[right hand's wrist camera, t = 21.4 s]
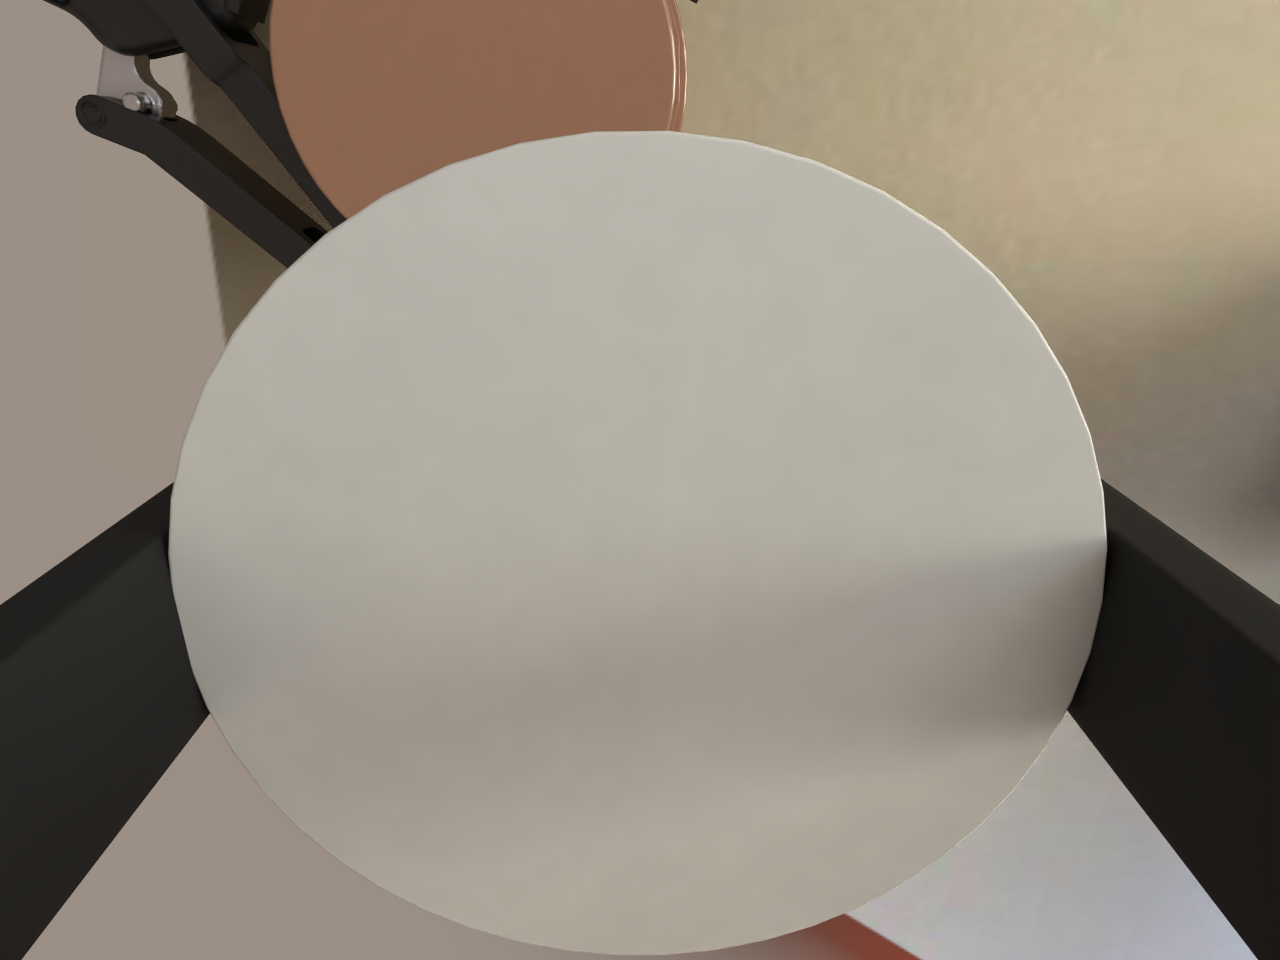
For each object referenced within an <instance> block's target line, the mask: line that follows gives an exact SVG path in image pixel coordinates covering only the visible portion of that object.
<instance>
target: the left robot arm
mask: <svg viewBox="0 0 1280 960" xmlns="http://www.w3.org/2000/svg"><path fill="white" fill-rule="evenodd" d="M44 1H46V2H48V3H50V4H52V5H55V6H57V7H59V8H61V9H63V10H65V11H67V12H69V13H70V14H72V15H73V16H75V17H76V18H77V19H79V20H80V21H81V22H82V23H83V24H84V25H85V26H86V27H87V28H88V29H89V30H90V31H91V32H92V34H93V35H94V36H95V37H96V38H97V40H98V41H100V42H101V43H102V44H103V53H102V60H101V67H100V75H99V82H98V89H97V95H86V96H83V97H82V98H80V99H79V100H78V102H77V105H76V116H77V118H78V121H79V123H80V124H81V125H82V127H83V128H84V129H85V130H87V131H88V132H90V133H92V134H94V135H96V136H99V137H101V138H104V139H107V140H109V141H112V142H114V143H117V144H119V145H122V146H124V147H127V148H129V149H132V150H134V151H137V152H140V153H142V154H145V155H146V156H147V157H149V158H150V159H151V160H152V161H154V162H155V163H156V164H157V165H159V166H160V167H161V168H162V169H164V170H165V171H166V172H167V173H169V174H170V175H171V176H173V177H174V178H175V179H176V180H178V181H179V182H180V183H181V184H183V185H184V186H185V187H186V188H188V189H189V190H190V191H191V192H193V193H194V194H195V195H196V196H198V197H199V198H200V199H201V200H203V201H204V202H205V203H206V204H208V205H209V206H210V207H211V208H213V209H214V210H215V211H216V212H218V213H219V214H220V215H222V216H223V217H224V218H225V219H227V220H228V221H229V222H230V223H232V224H233V225H234V226H235V227H237V228H238V229H239V230H240V231H242V232H243V233H244V234H245V235H247V236H248V237H249V238H250V239H252V240H253V241H254V242H255V243H257V244H258V245H259V246H261V247H262V248H263V249H264V250H266V251H267V252H268V253H269V254H271V255H272V256H273V257H274V258H276V259H277V260H278V261H279V262H281V263H282V264H283V265H284V266H286V267H287V268H289V267H290V266H291V265H292V264H293V263H294V262H295V261H296V260H297V259H299V258H300V257H301V256H302V255H303V254H304V253H305V252H306V251H307V250H308V249H310V248H311V247H312V246H313V245H314V244H315V243H316V242H317V241H318V240H319V239H320V238H322V237H323V236H324V235H325V234H326V233H328V232H327V231H326V230H325V229H324V228H323V227H321V226H320V225H319V224H318V223H316V222H315V221H314V220H313V219H312V218H310V217H309V216H308V215H307V214H305V213H304V212H303V211H302V210H301V209H299V208H298V207H297V206H296V205H295V204H293V203H292V202H291V201H290V200H288V199H287V198H286V197H285V196H284V195H282V194H281V193H280V192H279V191H277V190H276V189H275V188H274V187H273V186H271V185H270V184H269V183H268V182H266V181H265V180H264V179H263V178H262V177H260V176H259V175H258V174H257V173H256V172H254V171H253V170H252V169H251V168H249V167H248V166H247V165H246V164H245V163H243V162H242V161H241V160H240V159H238V158H237V157H236V156H235V155H234V154H232V153H231V152H230V151H229V150H228V149H226V148H225V147H224V146H223V145H221V144H220V143H219V142H218V141H217V140H215V139H214V138H213V137H212V136H210V135H209V134H208V133H206V132H205V131H204V130H202V129H201V128H199V127H198V126H196V125H194V124H193V123H191V122H189V121H188V120H186V119H184V118H182V117H179V116H177V115H176V112H177V103H176V101H175V100H174V99H173V97H172V95H171V94H170V93H169V92H168V91H167V90H166V89H164V88H163V87H161V86H160V85H159V84H158V83H157V82H156V81H155V80H154V78H153V76H152V74H151V71H150V59H158V58H162V57H166V56H170V55H175V54H179V53H184V52H187V54H188V55H189V56H190V57H191V59H192V60H193V61H194V62H195V64H196V65H197V66H198V67H199V69H200V70H201V71H202V72H203V73H204V74H205V76H207V77H208V78H209V79H210V80H211V81H212V82H214V83H215V84H216V85H218V86H219V87H220V88H221V89H222V90H223V91H224V92H225V93H226V94H227V95H228V97H229V98H230V99H231V101H232V102H233V103H234V104H235V106H236V107H237V108H238V109H239V111H240V112H241V113H242V114H243V116H244V117H245V118H246V119H247V121H248V122H249V123H250V124H251V126H252V127H253V128H254V129H255V131H256V132H257V133H258V134H259V136H260V137H261V138H262V139H263V141H264V142H265V143H266V144H267V146H268V147H269V148H270V149H271V151H272V152H273V153H274V154H275V156H276V157H277V158H278V159H279V161H280V162H281V163H282V164H283V166H284V167H285V168H286V169H287V171H288V172H289V173H290V174H291V176H292V177H293V178H294V179H295V181H296V182H297V183H298V184H299V186H300V187H301V188H302V190H303V191H304V192H305V193H306V195H307V196H308V197H309V198H310V200H311V201H312V202H313V203H314V205H315V206H316V207H317V208H318V210H319V211H320V212H321V213H322V215H323V216H324V217H325V218H326V220H327V221H328V222H329V223H330V225H331V226H332V227H333V228H335V227H337V226H338V225H340V224H341V223H343V222H344V221H346V220H347V219H346V218H345V217H344V216H343V215H342V214H341V213H340V212H339V211H338V210H337V209H336V208H335V207H334V206H333V205H332V203H331V202H330V201H329V200H328V198H327V197H326V196H325V195H324V193H323V192H322V191H321V190H320V188H319V187H318V186H317V184H316V183H315V181H314V180H313V178H312V176H311V175H310V173H309V172H308V170H307V169H306V167H305V165H304V164H303V162H302V160H301V158H300V156H299V154H298V152H297V150H296V148H295V146H294V144H293V142H292V140H291V138H290V135H289V133H288V130H287V127H286V124H285V122H284V119H283V116H282V113H281V110H280V107H279V103H278V98H277V94H276V90H275V86H274V82H273V74H272V66H271V58H270V52H269V51H268V50H267V48H266V47H265V46H264V44H263V43H262V42H261V40H260V39H259V38H258V37H257V35H256V34H255V33H254V31H253V28H254V27H255V26H256V24H257V23H258V22H260V23H263V24H264V23H265V19H266V15H267V11H268V7H269V3H270V0H44ZM691 1H692V2H694V3H696V4H697V1H698V0H691Z"/></svg>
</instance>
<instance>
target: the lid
mask: <svg viewBox="0 0 1280 960" xmlns="http://www.w3.org/2000/svg"><path fill="white" fill-rule="evenodd" d="M1106 555H1107V537H1106V522H1105V507H1104V493H1103V487H1102V483H1101V478H1100V474H1099V470H1098V465H1097V461H1096V456H1095V452H1094V448H1093V443H1092V439H1091V434H1090V432H1089V429H1088V427H1087V424H1086V422H1085V419H1084V417H1083V414H1082V412H1081V409H1080V407H1079V404H1078V402H1077V399H1076V397H1075V394H1074V392H1073V389H1072V387H1071V384H1070V382H1069V379H1068V377H1067V375H1066V374H1065V372H1064V370H1063V369H1062V367H1061V365H1060V364H1059V362H1058V360H1057V359H1056V357H1055V355H1054V354H1053V352H1052V350H1051V349H1050V347H1049V345H1048V344H1047V342H1046V340H1045V339H1044V337H1043V335H1042V334H1041V332H1040V330H1039V329H1038V327H1037V325H1036V324H1035V323H1034V321H1033V320H1032V319H1031V318H1030V317H1029V315H1028V314H1027V313H1026V312H1025V311H1024V309H1023V308H1022V307H1021V306H1020V305H1019V303H1018V302H1017V301H1016V300H1015V299H1014V297H1013V296H1012V295H1011V294H1010V293H1009V291H1008V290H1007V289H1006V288H1005V287H1004V285H1003V284H1002V283H1001V282H1000V281H999V279H998V278H997V277H996V276H995V275H994V274H993V273H992V272H991V271H990V270H989V269H988V268H987V267H985V266H984V265H983V264H982V263H981V262H980V261H979V260H977V259H976V258H975V257H974V256H973V255H972V254H971V253H970V252H968V251H967V250H966V249H965V248H964V247H963V246H962V245H960V244H959V243H958V242H957V241H956V240H955V239H954V238H952V237H951V236H950V235H949V234H948V233H947V232H946V231H945V230H943V229H942V228H940V227H939V226H937V225H936V224H934V223H933V222H931V221H929V220H928V219H926V218H925V217H923V216H922V215H920V214H919V213H917V212H915V211H914V210H912V209H911V208H909V207H908V206H906V205H905V204H903V203H901V202H900V201H898V200H897V199H895V198H894V197H892V196H890V195H889V194H887V193H886V192H884V191H882V190H880V189H878V188H876V187H873V186H871V185H869V184H867V183H864V182H862V181H860V180H858V179H856V178H853V177H851V176H849V175H847V174H844V173H842V172H840V171H838V170H836V169H833V168H831V167H829V166H827V165H824V164H822V163H820V162H818V161H814V160H811V159H807V158H804V157H800V156H797V155H793V154H790V153H786V152H783V151H779V150H776V149H772V148H769V147H765V146H762V145H758V144H755V143H751V142H748V141H743V140H735V139H728V138H720V137H713V136H705V135H698V134H691V133H683V132H676V131H595V132H588V133H581V134H575V135H568V136H562V137H555V138H549V139H542V140H535V141H529V142H522V143H518V144H515V145H511V146H508V147H505V148H501V149H498V150H495V151H492V152H488V153H485V154H482V155H478V156H475V157H472V158H469V159H465V160H462V161H459V162H455V163H452V164H449V165H447V166H445V167H442V168H440V169H438V170H436V171H434V172H432V173H430V174H428V175H425V176H423V177H421V178H419V179H417V180H415V181H413V182H411V183H409V184H406V185H404V186H402V187H400V188H398V189H396V190H394V191H392V192H389V193H387V194H385V195H383V196H382V197H380V198H379V199H377V200H376V201H374V202H373V203H371V204H370V205H368V206H367V207H365V208H364V209H362V210H361V211H359V212H358V213H356V214H355V215H353V216H352V217H350V218H349V219H347V220H346V221H344V222H343V223H341V224H340V225H338V226H337V227H335V228H334V229H332V230H331V231H329V232H328V233H326V234H325V235H324V236H323V237H322V238H320V239H319V240H318V241H317V242H316V243H315V244H314V245H313V246H312V247H311V248H310V249H308V250H307V251H306V252H305V253H304V254H303V255H302V256H301V257H300V258H299V259H297V260H296V261H295V262H294V263H293V264H292V265H291V266H290V267H289V268H288V269H287V270H285V271H284V272H283V273H282V274H281V275H280V276H279V277H278V278H277V279H276V280H275V281H274V282H273V283H272V284H271V286H270V287H269V288H268V289H267V291H266V292H265V293H264V294H263V296H262V297H261V298H260V299H259V301H258V302H257V303H256V304H255V306H254V307H253V308H252V309H251V311H250V312H249V313H248V314H247V316H246V317H245V318H244V319H243V321H242V322H241V323H240V324H239V326H238V327H237V328H236V329H235V331H234V332H233V334H232V336H231V338H230V339H229V341H228V343H227V345H226V346H225V348H224V350H223V352H222V353H221V355H220V357H219V359H218V360H217V362H216V364H215V366H214V367H213V369H212V371H211V373H210V374H209V376H208V378H207V380H206V382H205V383H204V385H203V388H202V391H201V393H200V396H199V398H198V401H197V404H196V407H195V409H194V412H193V414H192V417H191V420H190V422H189V425H188V428H187V430H186V433H185V436H184V438H183V441H182V446H181V451H180V456H179V461H178V466H177V470H176V475H175V480H174V485H173V490H172V495H171V504H170V525H169V547H168V557H169V567H170V576H171V583H172V588H173V593H174V598H175V602H176V606H177V610H178V614H179V618H180V622H181V626H182V630H183V634H184V639H185V643H186V647H187V651H188V655H189V659H190V663H191V667H192V670H193V673H194V677H195V680H196V682H197V685H198V687H199V689H200V692H201V694H202V697H203V699H204V702H205V704H206V706H207V708H208V710H209V712H210V714H211V715H212V717H213V719H214V720H215V722H216V724H217V726H218V727H219V729H220V731H221V733H222V734H223V736H224V738H225V739H226V741H227V743H228V745H229V746H230V748H231V750H232V752H233V753H234V754H235V755H236V757H237V758H238V759H239V761H240V762H241V763H242V765H243V766H244V767H245V769H246V770H247V771H248V773H249V774H250V775H251V776H252V778H253V779H254V780H255V782H256V783H257V784H258V786H259V787H260V788H261V790H262V791H263V792H264V793H265V794H266V795H267V796H268V797H269V798H270V799H271V800H272V802H274V804H275V805H276V806H277V807H278V808H279V809H280V810H281V811H282V812H283V813H284V814H285V815H286V816H287V817H288V818H289V819H290V820H291V821H292V822H293V823H294V824H295V825H296V826H297V827H298V828H299V829H300V830H301V831H303V832H304V833H305V834H306V835H307V836H309V837H310V838H311V839H312V840H313V841H315V842H316V843H317V844H318V845H320V846H321V847H322V848H323V849H325V850H326V851H327V852H328V853H329V854H331V855H332V856H333V857H334V858H335V859H337V860H338V861H339V862H341V863H343V864H344V865H346V866H347V867H349V868H350V869H352V870H353V871H355V872H356V873H358V874H359V875H361V876H363V877H364V878H366V879H367V880H369V881H370V882H372V883H373V884H375V885H376V886H378V887H379V888H381V889H383V890H385V891H387V892H389V893H391V894H393V895H395V896H397V897H399V898H401V899H403V900H405V901H407V902H409V903H411V904H413V905H415V906H417V907H419V908H421V909H422V910H425V911H427V912H430V913H432V914H435V915H437V916H440V917H443V918H445V919H448V920H450V921H453V922H455V923H458V924H460V925H463V926H466V927H468V928H471V929H474V930H478V931H481V932H485V933H488V934H492V935H496V936H499V937H503V938H506V939H510V940H513V941H517V942H522V943H527V944H533V945H538V946H544V947H549V948H554V949H560V950H565V951H575V952H587V953H598V954H609V955H669V954H679V953H689V952H699V951H709V950H717V949H723V948H727V947H733V946H738V945H743V944H748V943H753V942H758V941H763V940H767V939H770V938H774V937H777V936H781V935H784V934H787V933H791V932H794V931H797V930H801V929H804V928H807V927H811V926H814V925H816V924H818V923H821V922H823V921H826V920H828V919H831V918H833V917H836V916H838V915H841V914H843V913H846V912H848V911H851V910H853V909H856V908H858V907H860V906H862V905H864V904H865V903H867V902H869V901H871V900H873V899H875V898H877V897H879V896H881V895H883V894H884V893H886V892H888V891H890V890H892V889H894V888H896V887H898V886H900V885H901V884H903V883H904V882H906V881H907V880H909V879H910V878H912V877H913V876H915V875H916V874H918V873H919V872H921V871H922V870H924V869H925V868H927V867H928V866H930V865H931V864H933V863H934V862H936V861H937V860H939V859H940V858H942V857H943V856H944V855H946V854H947V853H948V852H949V851H950V850H952V849H953V848H954V847H955V846H956V845H957V844H959V843H960V842H961V841H962V840H963V839H965V838H966V837H967V836H968V835H969V834H971V833H972V832H973V831H974V830H975V829H976V828H978V827H979V826H980V825H981V824H982V823H983V822H984V821H985V820H986V819H987V818H988V817H989V816H990V815H991V814H992V813H993V812H994V810H995V809H996V808H997V807H998V806H999V805H1000V804H1001V803H1002V802H1003V801H1004V800H1005V799H1006V798H1007V797H1008V796H1009V795H1010V793H1011V792H1012V791H1013V790H1014V789H1015V788H1016V787H1017V786H1018V784H1019V783H1020V782H1021V780H1022V779H1023V778H1024V776H1025V775H1026V773H1027V772H1028V771H1029V769H1030V768H1031V767H1032V765H1033V764H1034V763H1035V761H1036V760H1037V759H1038V757H1039V756H1040V754H1041V753H1042V752H1043V750H1044V749H1045V748H1046V746H1047V745H1048V743H1049V741H1050V739H1051V737H1052V736H1053V734H1054V732H1055V730H1056V728H1057V727H1058V725H1059V723H1060V721H1061V719H1062V718H1063V716H1064V714H1065V712H1066V710H1067V708H1068V707H1069V705H1070V703H1071V701H1072V699H1073V696H1074V694H1075V691H1076V688H1077V686H1078V683H1079V681H1080V678H1081V676H1082V673H1083V671H1084V668H1085V665H1086V663H1087V660H1088V658H1089V655H1090V653H1091V648H1092V644H1093V640H1094V636H1095V631H1096V627H1097V623H1098V619H1099V614H1100V610H1101V606H1102V602H1103V591H1104V579H1105V567H1106Z"/></svg>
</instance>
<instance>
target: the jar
mask: <svg viewBox="0 0 1280 960" xmlns="http://www.w3.org/2000/svg"><path fill="white" fill-rule="evenodd" d="M270 58H271V66H272V74H273V82H274V86H275V90H276V94H277V98H278V103H279V107H280V110H281V113H282V116H283V119H284V122H285V124H286V127H287V130H288V133H289V135H290V138H291V140H292V142H293V144H294V146H295V148H296V150H297V152H298V154H299V156H300V158H301V160H302V162H303V164H304V165H305V167H306V169H307V170H308V172H309V173H310V175H311V176H312V178H313V180H314V181H315V183H316V184H317V186H318V187H319V188H320V190H321V191H322V192H323V193H324V195H325V196H326V197H327V198H328V200H329V201H330V202H331V203H332V205H333V206H334V207H335V208H336V209H337V210H338V211H339V212H340V213H341V214H342V215H343V216H344V217H345V218H346V219H349V218H350V217H352V216H353V215H355V214H356V213H358V212H359V211H361V210H362V209H364V208H365V207H367V206H368V205H370V204H371V203H373V202H374V201H376V200H377V199H379V198H380V197H382V196H383V195H385V194H387V193H389V192H392V191H394V190H396V189H398V188H400V187H402V186H404V185H406V184H409V183H411V182H413V181H415V180H417V179H419V178H421V177H423V176H425V175H428V174H430V173H432V172H434V171H436V170H438V169H440V168H442V167H445V166H447V165H449V164H452V163H455V162H459V161H462V160H465V159H469V158H472V157H475V156H478V155H482V154H485V153H488V152H492V151H495V150H498V149H501V148H505V147H508V146H511V145H515V144H518V143H522V142H529V141H535V140H542V139H549V138H555V137H562V136H568V135H575V134H581V133H588V132H595V131H676V132H681V127H682V121H683V115H684V110H685V104H686V88H687V62H686V46H685V40H684V34H683V29H682V23H681V17H680V13H679V10H678V7H677V3H676V0H272V6H271V14H270Z"/></svg>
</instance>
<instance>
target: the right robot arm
mask: <svg viewBox="0 0 1280 960" xmlns="http://www.w3.org/2000/svg"><path fill="white" fill-rule="evenodd" d="M1101 483H1102V487H1103V493H1104V507H1105V522H1106V537H1107V555H1106V567H1105V579H1104V591H1103V602H1102V606H1101V610H1100V614H1099V619H1098V623H1097V627H1096V631H1095V636H1094V640H1093V644H1092V648H1091V653H1090V655H1089V658H1088V660H1087V663H1086V665H1085V668H1084V671H1083V673H1082V676H1081V678H1080V681H1079V683H1078V686H1077V688H1076V691H1075V694H1074V696H1073V699H1072V701H1071V703H1070V705H1069V707H1068V708H1067V711H1068V712H1069V713H1070V715H1071V716H1072V717H1073V718H1074V720H1075V721H1076V722H1077V724H1078V725H1079V726H1080V728H1081V729H1082V730H1083V732H1084V733H1085V734H1086V735H1087V737H1088V738H1089V739H1090V741H1091V742H1092V743H1093V745H1094V746H1095V747H1096V749H1097V750H1098V751H1099V752H1100V754H1101V755H1102V756H1103V758H1104V759H1105V760H1106V762H1107V763H1108V764H1109V765H1110V767H1111V768H1112V769H1113V771H1114V772H1115V773H1116V775H1117V776H1118V777H1119V779H1120V780H1121V781H1122V782H1123V784H1124V785H1125V786H1126V788H1127V789H1128V790H1129V792H1130V793H1131V794H1132V796H1133V797H1134V798H1135V799H1136V801H1137V802H1138V803H1139V805H1140V806H1141V807H1142V809H1143V810H1144V811H1145V813H1146V814H1147V815H1148V816H1149V818H1150V819H1151V820H1152V822H1153V823H1154V824H1155V826H1156V827H1157V828H1158V830H1159V831H1160V832H1161V833H1162V835H1163V836H1164V837H1165V839H1166V840H1167V841H1168V843H1169V844H1170V845H1171V847H1172V848H1173V849H1174V850H1175V852H1176V853H1177V854H1178V856H1179V857H1180V858H1181V860H1182V861H1183V862H1184V864H1185V865H1186V866H1187V867H1188V869H1189V870H1190V871H1191V873H1192V874H1193V875H1194V877H1195V878H1196V879H1197V881H1198V882H1199V883H1200V884H1201V886H1202V887H1203V888H1204V890H1205V891H1206V892H1207V894H1208V895H1209V896H1210V898H1211V899H1212V900H1213V901H1214V903H1215V904H1216V905H1217V907H1218V908H1219V909H1220V911H1221V912H1222V913H1223V915H1224V916H1225V917H1226V918H1227V920H1228V921H1229V922H1230V924H1231V925H1232V926H1233V928H1234V929H1235V930H1236V931H1237V933H1238V934H1239V935H1240V937H1241V938H1242V939H1243V941H1244V942H1245V943H1246V945H1247V946H1248V947H1249V948H1250V950H1251V951H1252V952H1253V954H1254V955H1255V956H1256V958H1257V959H1258V960H1280V605H1279V604H1277V603H1275V602H1274V601H1273V600H1271V599H1270V598H1268V597H1267V596H1265V595H1264V594H1263V593H1261V592H1260V591H1258V590H1257V589H1256V588H1254V587H1253V586H1251V585H1250V584H1249V583H1247V582H1246V581H1244V580H1243V579H1241V578H1240V577H1239V576H1237V575H1236V574H1234V573H1233V572H1232V571H1230V570H1229V569H1227V568H1226V567H1225V566H1223V565H1222V564H1220V563H1219V562H1218V561H1216V560H1215V559H1213V558H1212V557H1210V556H1209V555H1208V554H1206V553H1205V552H1203V551H1202V550H1201V549H1199V548H1198V547H1196V546H1195V545H1194V544H1192V543H1191V542H1189V541H1188V540H1186V539H1185V538H1184V537H1182V536H1181V535H1179V534H1178V533H1177V532H1175V531H1174V530H1172V529H1171V528H1170V527H1168V526H1167V525H1165V524H1164V523H1163V522H1161V521H1160V520H1158V519H1157V518H1155V517H1154V516H1153V515H1151V514H1150V513H1148V512H1147V511H1146V510H1144V509H1143V508H1141V507H1140V506H1139V505H1137V504H1136V503H1134V502H1133V501H1131V500H1130V499H1129V498H1127V497H1126V496H1124V495H1123V494H1122V493H1120V492H1119V491H1117V490H1116V489H1115V488H1113V487H1112V486H1110V485H1109V484H1108V483H1106V482H1105V481H1103V480H1102V479H1101ZM173 485H174V482H173V483H172V484H170V485H169V486H168V487H166V488H165V489H164V490H162V491H161V492H159V493H158V494H156V495H155V496H154V497H152V498H151V499H149V500H148V501H147V502H145V503H144V504H142V505H141V506H140V507H138V508H137V509H135V510H134V511H132V512H131V513H130V514H128V515H127V516H125V517H124V518H123V519H121V520H120V521H118V522H117V523H115V524H114V525H113V526H111V527H110V528H108V529H107V530H106V531H104V532H103V533H101V534H100V535H99V536H97V537H96V538H94V539H93V540H92V541H90V542H89V543H87V544H86V545H84V546H83V547H82V548H80V549H79V550H77V551H76V552H75V553H73V554H72V555H70V556H69V557H68V558H66V559H65V560H63V561H62V562H60V563H59V564H58V565H56V566H55V567H53V568H52V569H51V570H49V571H48V572H46V573H45V574H44V575H42V576H41V577H39V578H38V579H36V580H35V581H34V582H32V583H31V584H29V585H28V586H27V587H25V588H24V589H22V590H21V591H20V592H18V593H17V594H15V595H14V596H13V597H11V598H10V599H8V600H7V601H5V602H4V603H3V604H1V605H0V960H22V958H23V957H24V956H25V954H26V953H27V952H28V950H29V949H30V948H31V946H32V945H33V944H34V943H35V941H36V940H37V939H38V937H39V936H40V935H41V933H42V932H43V931H44V929H45V928H46V927H47V926H48V924H49V923H50V922H51V920H52V919H53V918H54V916H55V915H56V914H57V912H58V911H59V910H60V909H61V907H62V906H63V905H64V903H65V902H66V901H67V899H68V898H69V897H70V895H71V894H72V893H73V892H74V890H75V889H76V888H77V886H78V885H79V884H80V882H81V881H82V880H83V878H84V877H85V876H86V875H87V873H88V872H89V871H90V869H91V868H92V867H93V865H94V864H95V863H96V861H97V860H98V859H99V858H100V856H101V855H102V854H103V852H104V851H105V850H106V848H107V847H108V846H109V844H110V843H111V842H112V841H113V839H114V838H115V837H116V835H117V834H118V833H119V831H120V830H121V829H122V828H123V826H124V825H125V824H126V822H127V821H128V820H129V818H130V817H131V816H132V814H133V813H134V812H135V811H136V809H137V808H138V807H139V805H140V804H141V803H142V801H143V800H144V799H145V797H146V796H147V795H148V794H149V792H150V791H151V790H152V788H153V787H154V786H155V784H156V783H157V782H158V780H159V779H160V778H161V777H162V775H163V774H164V773H165V771H166V770H167V769H168V767H169V766H170V765H171V763H172V762H173V761H174V760H175V758H176V757H177V756H178V754H179V753H180V752H181V750H182V749H183V748H184V746H185V745H186V744H187V743H188V741H189V740H190V739H191V737H192V736H193V735H194V733H195V732H196V731H197V729H198V728H199V727H200V726H201V724H202V723H203V722H204V720H205V719H206V718H207V716H208V715H209V714H210V712H209V710H208V708H207V706H206V704H205V702H204V699H203V697H202V694H201V692H200V689H199V687H198V685H197V682H196V680H195V677H194V673H193V670H192V667H191V663H190V659H189V655H188V651H187V647H186V643H185V639H184V634H183V630H182V626H181V622H180V618H179V614H178V610H177V606H176V602H175V598H174V593H173V588H172V583H171V576H170V567H169V557H168V547H169V525H170V504H171V495H172V490H173Z"/></svg>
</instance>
